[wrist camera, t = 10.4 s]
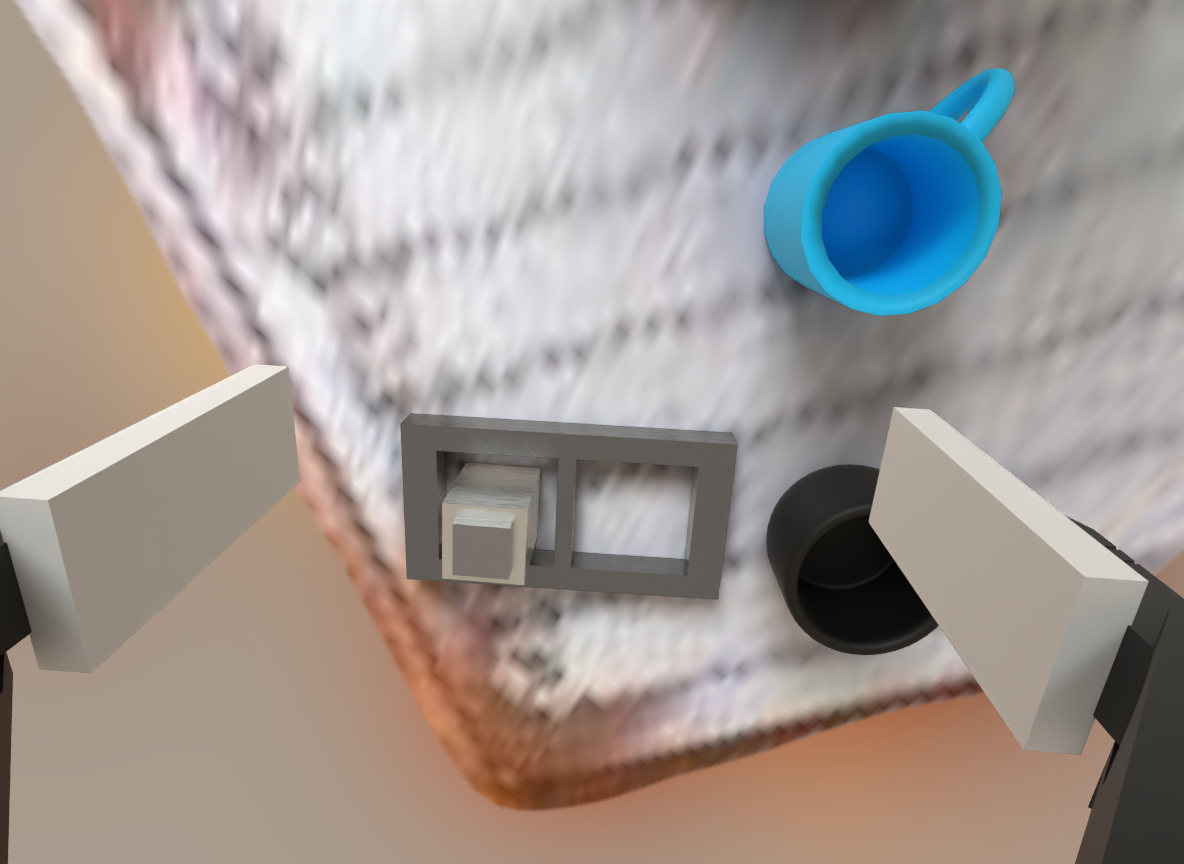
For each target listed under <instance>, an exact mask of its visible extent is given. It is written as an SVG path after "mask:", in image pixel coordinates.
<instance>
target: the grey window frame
mask: <svg viewBox="0 0 1184 864" xmlns="http://www.w3.org/2000/svg"><path fill="white" fill-rule="evenodd" d="M401 446H402V470H403V495H404V519H405V543H406V568H407V579H415V580H430V581H445V582H460V583H475V584H490V585H505V586H520V587H535V588H551V589H566V590H581V591H596V592H611V593H626V594H641V595H656V596H671V597H686V598H701V599H716V600H718V596H719V588H720V580H721V572H722V564H723V556H724V548H725V540H726V532H727V524H728V516H729V508H730V500H731V492H732V484H733V476H734V468H735V460H736V452H737V442H736V440H735V438H734V436H733V434H732V433H725V432H709V431H692V430H676V429H659V428H643V427H627V426H610V425H594V424H577V423H561V422H544V421H528V420H511V419H495V418H478V417H462V416H445V415H429V414H412V413H411V414H410V415H409V416H408V417H407V418H406V419H405V420H404V421H403V422H402V423H401ZM445 451H448V452H464V453H480V454H496V455H512V456H528V457H544V458H558V479H557V506H556V533H555V551H551V550H535V549H534V550H533V554H532V557H531V561H530V565H529V569H528V573H527V577H526V581H525V584H524V585H514V584H502V583H490V582H479V581H467V580H455V579H443V578H442V502H443V501H444V499H445V497H446V474H445ZM577 460H593V461H609V462H625V463H641V464H657V465H674V466H690V467H694V473H693V483H692V492H691V502H690V512H689V521H688V531H687V540H686V550H685V559H673V558H658V557H643V556H627V555H612V554H597V553H581V552H573V544H574V522H575V500H576V479H577Z"/></svg>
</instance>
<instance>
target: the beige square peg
mask: <svg viewBox="0 0 1184 864" xmlns="http://www.w3.org/2000/svg"><path fill="white" fill-rule="evenodd" d="M540 470H541V468H533V467H520V466H508V465H495V464H483V463H470V462H467V463H466V464H465V466H464V468H463V469H462V471H461V473H460V474H459V476H458V478H457V479H456V481H455V483H454V484H453V486H452V488H451V489H450V491H449V493H448V494H447V496H446V497H445V499H444V501H443V502H442V578H443V579H455V580H467V581H479V582H490V583H502V584H514V585H524V584H525V581H526V577H527V573H528V569H529V565H530V561H531V557H532V554H533V550H534V546H535V542H536V538H537V532H538V511H539V491H540Z"/></svg>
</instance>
